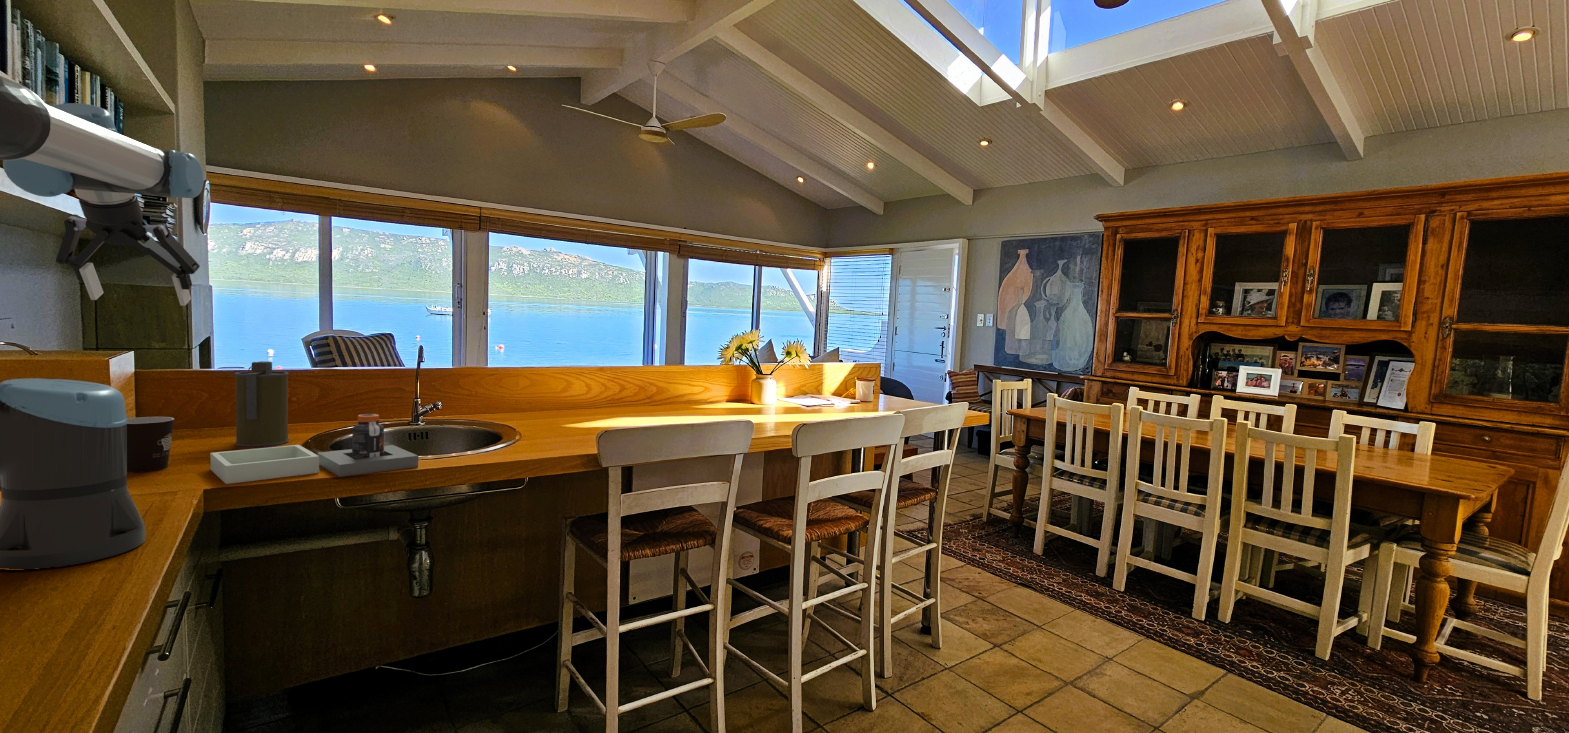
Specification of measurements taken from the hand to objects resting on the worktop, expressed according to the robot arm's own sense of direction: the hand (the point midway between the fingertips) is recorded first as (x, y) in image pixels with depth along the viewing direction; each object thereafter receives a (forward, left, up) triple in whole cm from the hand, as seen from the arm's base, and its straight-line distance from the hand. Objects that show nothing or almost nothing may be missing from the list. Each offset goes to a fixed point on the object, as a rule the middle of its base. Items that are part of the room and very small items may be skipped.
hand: (142, 299), depth 129 cm
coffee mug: (+5, -2, -35) cm, 35 cm away
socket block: (-17, -34, -34) cm, 51 cm away
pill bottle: (-17, -34, -35) cm, 51 cm away
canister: (+22, -23, -35) cm, 47 cm away
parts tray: (-11, -17, -34) cm, 40 cm away
